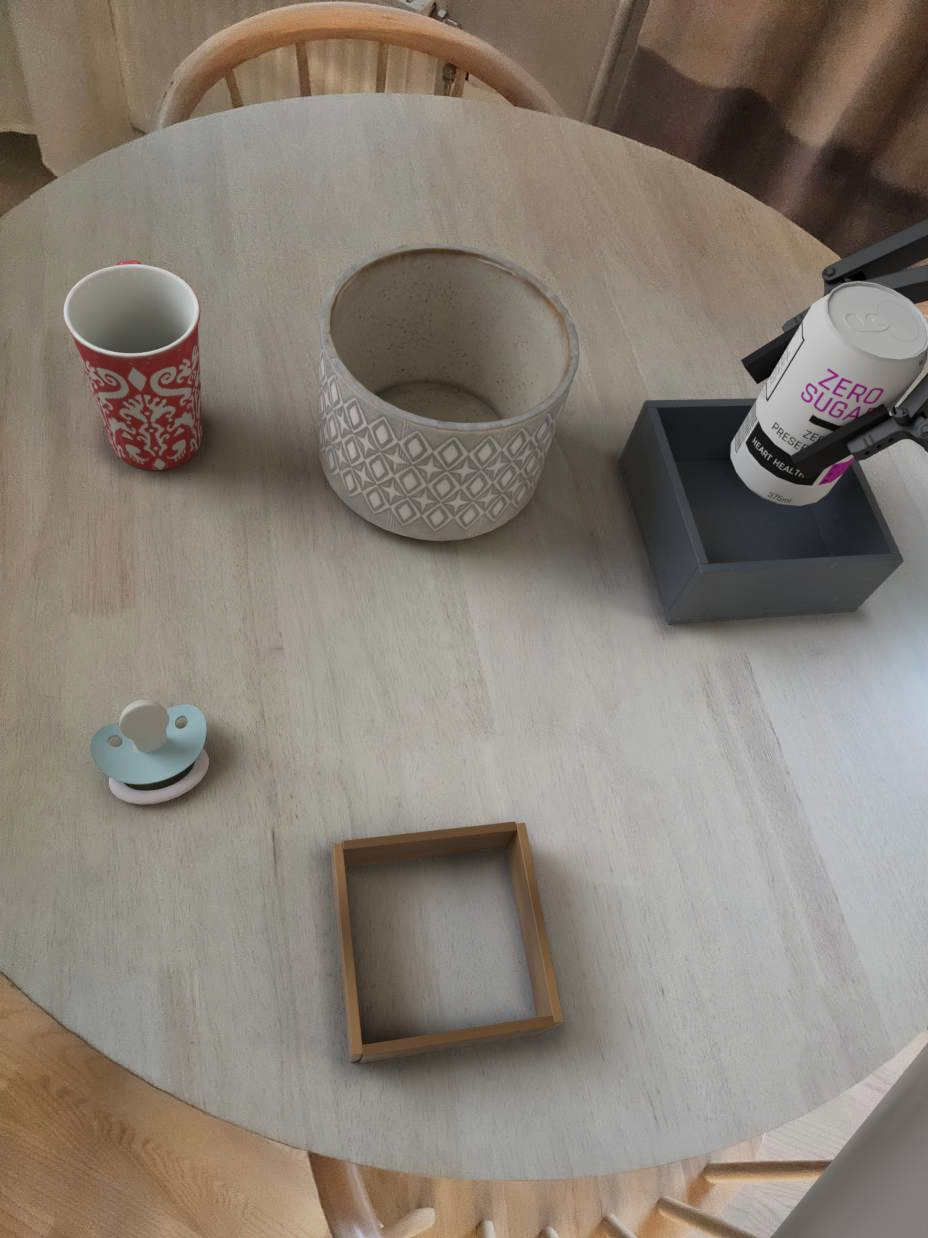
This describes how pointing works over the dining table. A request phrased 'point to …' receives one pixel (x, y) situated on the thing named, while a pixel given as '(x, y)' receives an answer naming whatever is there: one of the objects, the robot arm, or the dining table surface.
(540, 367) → the planter
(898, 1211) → the robot arm
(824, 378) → the supplement can
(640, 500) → the grey storage bin
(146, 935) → the dining table surface
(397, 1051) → the box
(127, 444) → the mug
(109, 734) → the pacifier
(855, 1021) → the dining table surface
